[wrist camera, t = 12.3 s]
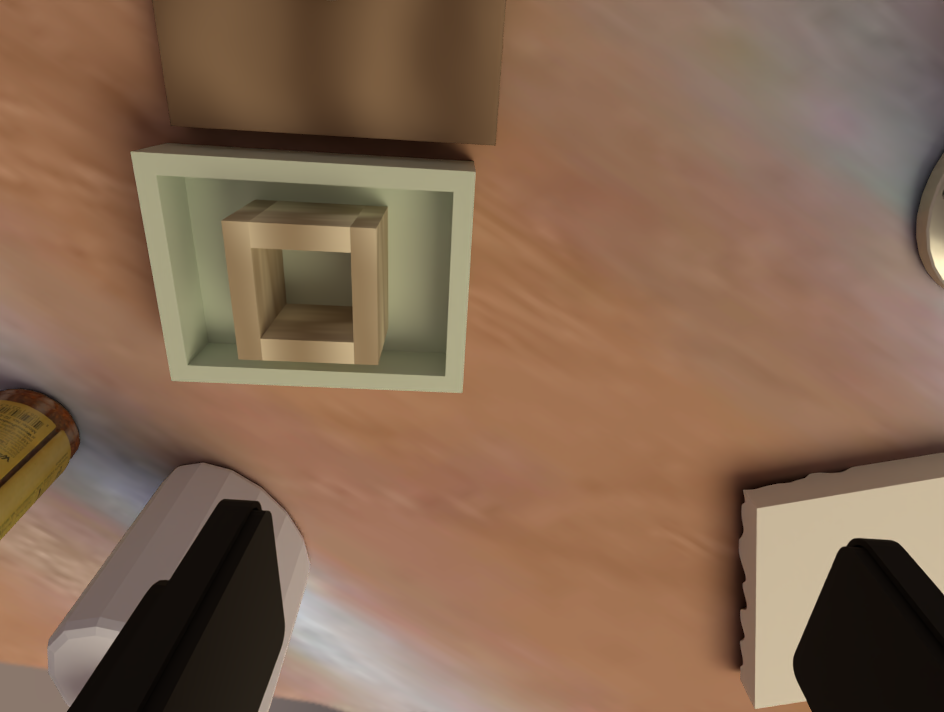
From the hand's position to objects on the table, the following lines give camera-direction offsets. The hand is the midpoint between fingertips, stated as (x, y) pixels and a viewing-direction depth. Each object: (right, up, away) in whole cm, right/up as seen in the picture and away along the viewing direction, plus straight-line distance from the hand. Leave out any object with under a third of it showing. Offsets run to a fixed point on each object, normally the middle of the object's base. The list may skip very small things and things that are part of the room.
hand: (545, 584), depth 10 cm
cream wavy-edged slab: (+27, -12, +36) cm, 46 cm away
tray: (-9, +9, +24) cm, 27 cm away
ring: (-9, +9, +23) cm, 26 cm away
